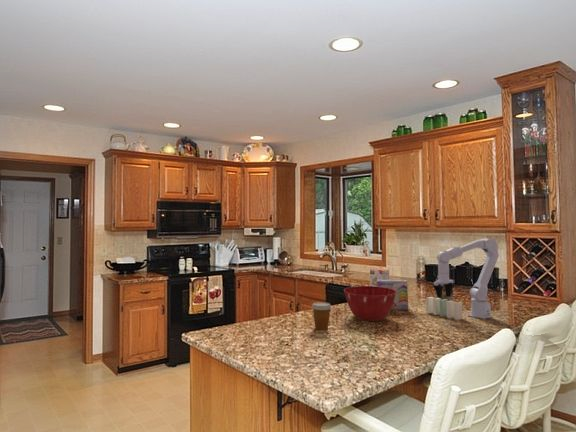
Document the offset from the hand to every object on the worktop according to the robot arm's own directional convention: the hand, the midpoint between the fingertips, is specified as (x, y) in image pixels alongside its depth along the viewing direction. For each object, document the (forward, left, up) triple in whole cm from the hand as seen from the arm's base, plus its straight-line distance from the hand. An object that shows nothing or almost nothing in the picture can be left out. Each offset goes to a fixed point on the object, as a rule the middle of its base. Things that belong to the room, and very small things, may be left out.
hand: (443, 297), depth 225 cm
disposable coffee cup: (+17, +74, -11) cm, 77 cm away
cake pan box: (+29, +11, -11) cm, 32 cm away
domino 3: (0, 0, -10) cm, 10 cm away
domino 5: (-9, 0, -10) cm, 14 cm away
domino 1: (+9, 0, -10) cm, 14 cm away
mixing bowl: (+19, +39, -11) cm, 45 cm away
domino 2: (+5, 0, -10) cm, 11 cm away
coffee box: (+21, -29, -11) cm, 37 cm away
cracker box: (+54, -5, -11) cm, 55 cm away
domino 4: (-4, 0, -10) cm, 11 cm away
